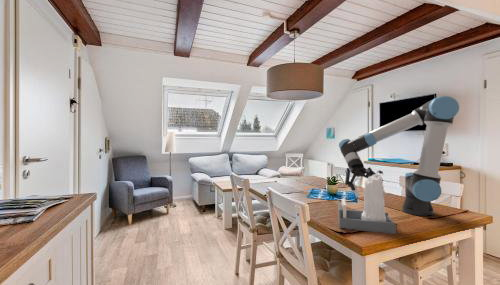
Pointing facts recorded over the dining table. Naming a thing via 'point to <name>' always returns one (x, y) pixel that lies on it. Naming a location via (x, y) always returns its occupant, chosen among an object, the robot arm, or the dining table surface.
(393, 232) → the grey tray
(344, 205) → the plate
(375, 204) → the decorative vase
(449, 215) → the dining table surface
